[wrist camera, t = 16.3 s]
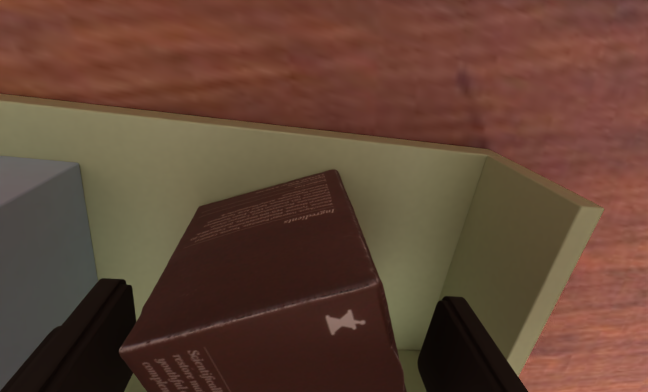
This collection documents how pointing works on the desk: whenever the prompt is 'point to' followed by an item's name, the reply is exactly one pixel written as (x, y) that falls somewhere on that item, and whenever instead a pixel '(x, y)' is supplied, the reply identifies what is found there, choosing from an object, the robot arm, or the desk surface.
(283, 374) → the box
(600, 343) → the desk surface
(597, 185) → the desk surface
